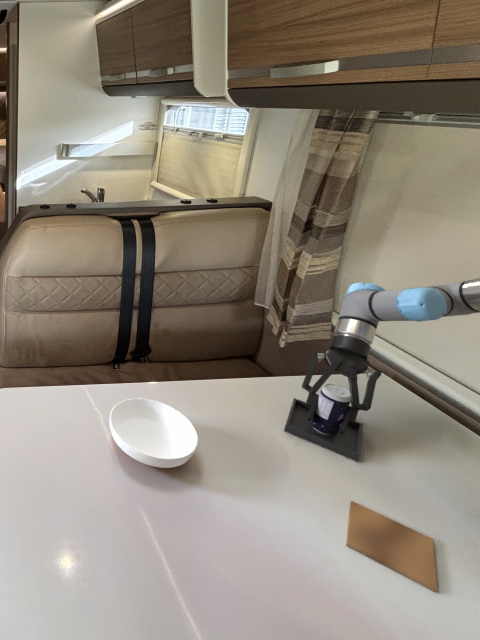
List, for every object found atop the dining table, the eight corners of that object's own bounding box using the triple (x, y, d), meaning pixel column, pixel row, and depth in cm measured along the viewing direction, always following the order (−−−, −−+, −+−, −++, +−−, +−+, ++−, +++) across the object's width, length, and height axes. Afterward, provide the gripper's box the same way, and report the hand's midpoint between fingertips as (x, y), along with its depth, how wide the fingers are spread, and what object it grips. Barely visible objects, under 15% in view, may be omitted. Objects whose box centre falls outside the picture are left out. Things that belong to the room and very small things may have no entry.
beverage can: (334, 441, 103) (350, 401, 99) (306, 428, 107) (320, 389, 103) (339, 429, 107) (355, 390, 102) (311, 417, 111) (325, 379, 106)
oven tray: (360, 429, 107) (363, 423, 106) (357, 461, 98) (360, 455, 97) (292, 403, 116) (294, 397, 115) (283, 430, 107) (285, 424, 106)
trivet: (431, 540, 81) (433, 538, 81) (436, 592, 73) (437, 590, 73) (350, 502, 89) (351, 500, 89) (346, 545, 81) (347, 543, 80)
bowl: (153, 409, 115) (157, 391, 112) (212, 466, 98) (218, 445, 95) (91, 427, 109) (93, 408, 107) (142, 490, 92) (146, 469, 90)
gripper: (398, 359, 105) (373, 448, 100) (304, 332, 117) (278, 410, 112) (406, 350, 99) (380, 444, 94) (307, 323, 111) (280, 405, 106)
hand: (325, 426), depth 103 cm, fingers closed on beverage can, 6 cm apart
